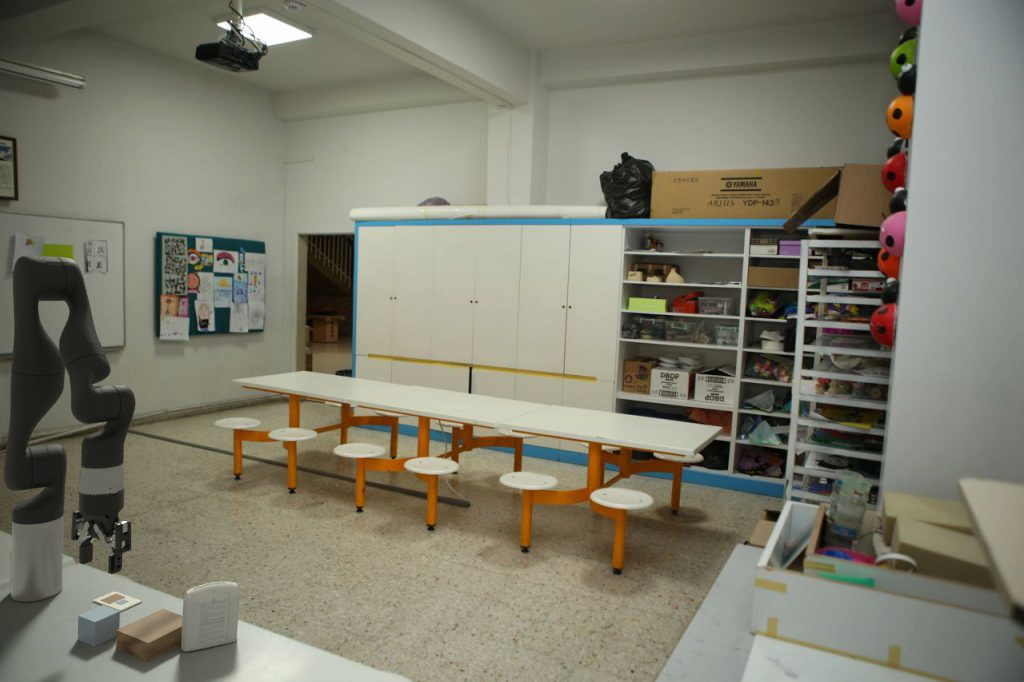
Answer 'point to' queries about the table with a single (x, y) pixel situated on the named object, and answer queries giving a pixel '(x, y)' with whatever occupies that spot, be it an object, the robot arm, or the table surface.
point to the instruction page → (117, 601)
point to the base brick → (151, 635)
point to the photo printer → (210, 615)
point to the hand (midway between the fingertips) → (100, 567)
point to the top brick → (98, 625)
